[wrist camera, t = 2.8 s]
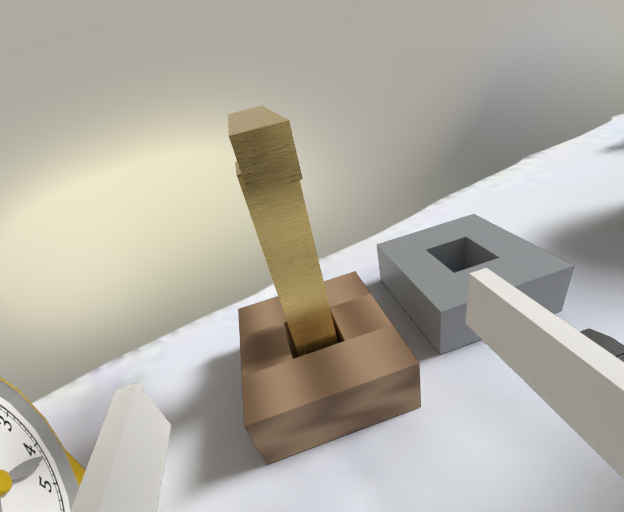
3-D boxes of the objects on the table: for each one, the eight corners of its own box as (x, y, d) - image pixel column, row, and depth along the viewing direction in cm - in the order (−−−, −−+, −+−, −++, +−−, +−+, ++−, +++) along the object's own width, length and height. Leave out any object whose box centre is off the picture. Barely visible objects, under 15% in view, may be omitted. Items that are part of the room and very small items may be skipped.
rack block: (471, 250, 38) (473, 213, 35) (561, 310, 28) (574, 265, 25) (380, 280, 37) (376, 244, 34) (440, 354, 26) (440, 311, 24)
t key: (324, 324, 32) (267, 104, 21) (363, 421, 23) (298, 117, 12) (295, 334, 32) (222, 115, 21) (323, 436, 23) (218, 138, 12)
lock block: (361, 308, 33) (355, 271, 31) (421, 406, 23) (419, 363, 20) (254, 344, 32) (238, 309, 30) (266, 465, 22) (244, 426, 19)
